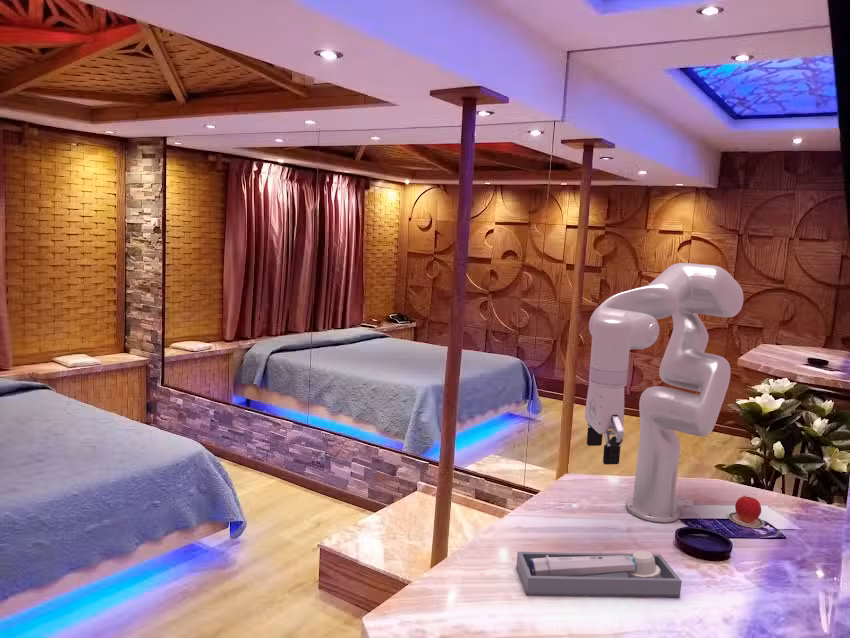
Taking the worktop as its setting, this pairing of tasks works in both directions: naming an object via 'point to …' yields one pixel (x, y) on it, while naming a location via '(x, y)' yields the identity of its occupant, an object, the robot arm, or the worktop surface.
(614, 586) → the tray
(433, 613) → the worktop surface
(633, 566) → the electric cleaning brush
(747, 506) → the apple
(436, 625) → the worktop surface
